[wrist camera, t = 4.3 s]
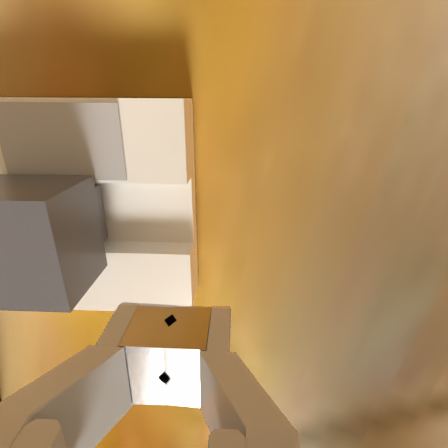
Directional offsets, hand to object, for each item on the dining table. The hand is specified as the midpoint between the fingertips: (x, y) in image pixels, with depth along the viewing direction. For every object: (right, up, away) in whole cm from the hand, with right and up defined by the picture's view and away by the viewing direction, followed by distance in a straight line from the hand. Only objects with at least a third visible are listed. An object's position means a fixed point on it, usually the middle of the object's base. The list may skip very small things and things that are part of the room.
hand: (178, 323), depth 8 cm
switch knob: (-8, +3, +9) cm, 12 cm away
